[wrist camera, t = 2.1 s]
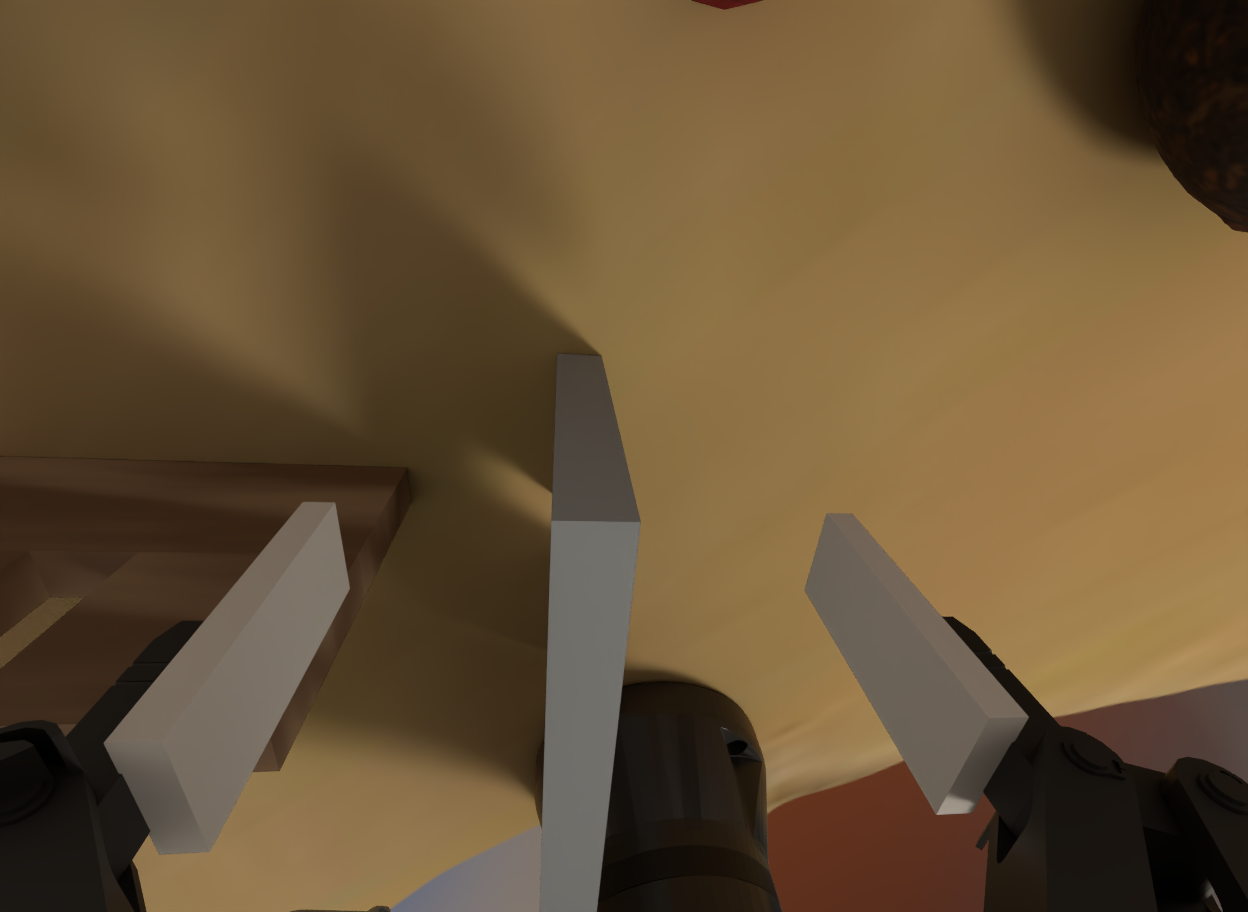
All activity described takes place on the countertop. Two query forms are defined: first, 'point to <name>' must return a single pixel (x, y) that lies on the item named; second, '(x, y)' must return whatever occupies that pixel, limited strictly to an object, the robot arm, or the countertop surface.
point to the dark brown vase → (1199, 98)
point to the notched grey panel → (584, 631)
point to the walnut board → (162, 564)
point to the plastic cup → (726, 3)
